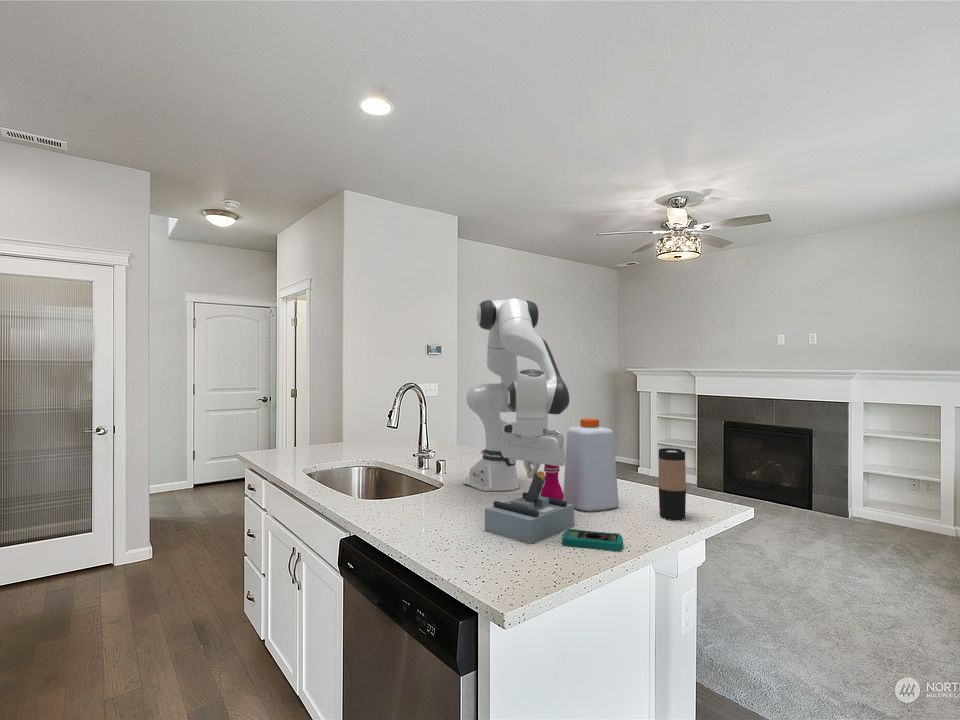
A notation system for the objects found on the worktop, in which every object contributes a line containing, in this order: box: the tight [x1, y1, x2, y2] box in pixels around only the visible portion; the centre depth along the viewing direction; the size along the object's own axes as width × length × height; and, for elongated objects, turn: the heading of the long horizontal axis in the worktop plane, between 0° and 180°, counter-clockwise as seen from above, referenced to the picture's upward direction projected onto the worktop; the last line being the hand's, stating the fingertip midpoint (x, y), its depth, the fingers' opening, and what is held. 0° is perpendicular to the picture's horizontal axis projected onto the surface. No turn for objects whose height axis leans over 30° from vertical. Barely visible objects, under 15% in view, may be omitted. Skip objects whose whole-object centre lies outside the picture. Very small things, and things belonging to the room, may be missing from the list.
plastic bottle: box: [563, 417, 619, 512], centre depth 164 cm, size 15×15×28 cm
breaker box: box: [484, 495, 575, 545], centre depth 140 cm, size 16×20×8 cm
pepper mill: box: [540, 464, 564, 501], centre depth 158 cm, size 7×7×20 cm
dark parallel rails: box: [492, 492, 567, 517], centre depth 140 cm, size 16×15×2 cm
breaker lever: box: [525, 470, 546, 505], centre depth 139 cm, size 2×3×11 cm
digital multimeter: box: [561, 528, 624, 552], centre depth 128 cm, size 7×15×3 cm, turn 72°
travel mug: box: [658, 447, 687, 521], centre depth 150 cm, size 8×8×20 cm
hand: (532, 477), depth 139 cm, fingers closed
